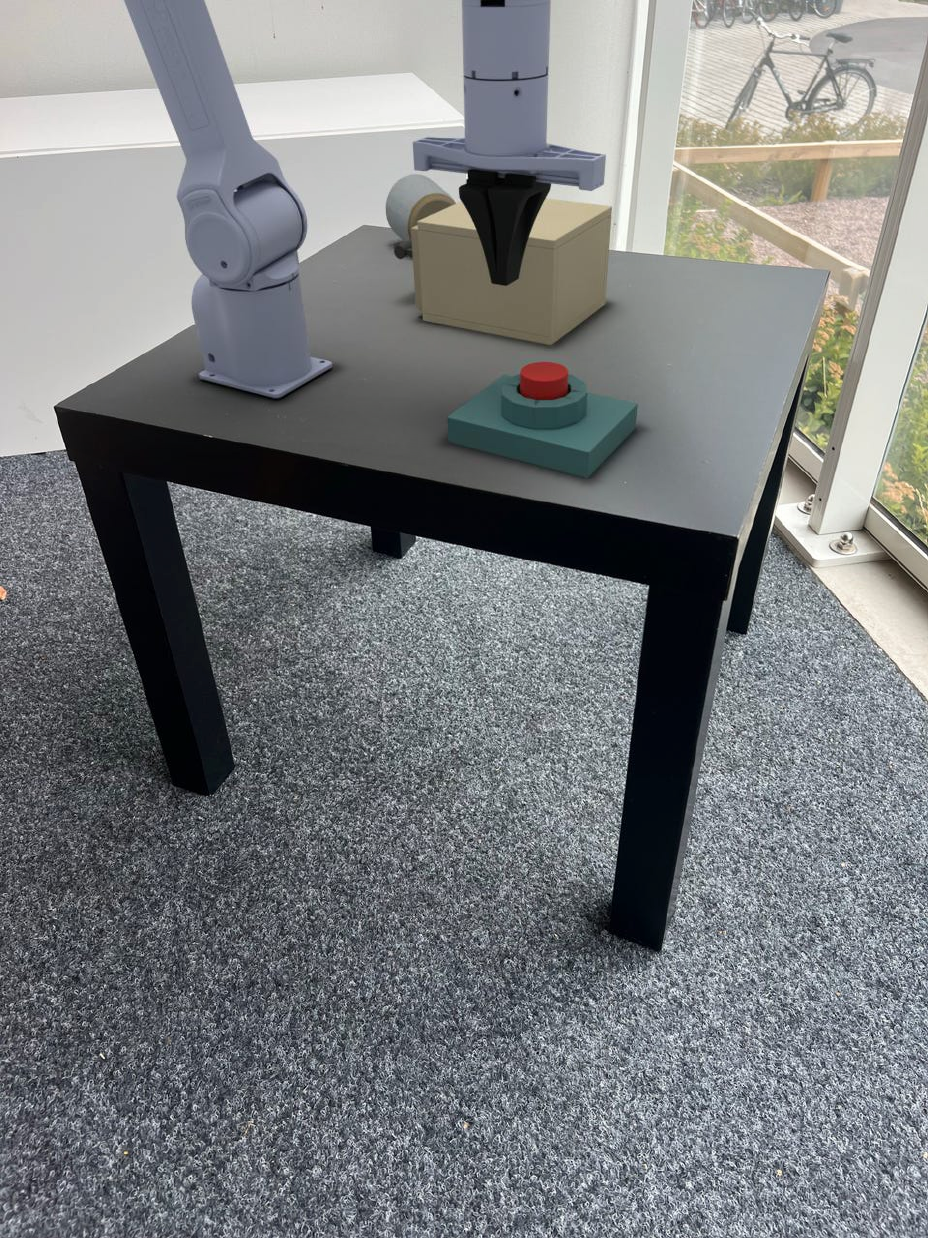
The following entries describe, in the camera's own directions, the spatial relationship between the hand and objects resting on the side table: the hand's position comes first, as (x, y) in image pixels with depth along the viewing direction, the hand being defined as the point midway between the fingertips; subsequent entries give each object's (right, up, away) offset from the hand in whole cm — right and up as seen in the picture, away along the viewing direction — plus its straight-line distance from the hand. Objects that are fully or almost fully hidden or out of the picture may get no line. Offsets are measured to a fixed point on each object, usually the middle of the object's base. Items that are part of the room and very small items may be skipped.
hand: (505, 280), depth 68 cm
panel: (+3, -11, +2) cm, 12 cm away
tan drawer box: (+2, +6, +23) cm, 24 cm away
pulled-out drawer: (-1, +8, +25) cm, 26 cm away
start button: (+3, -9, 0) cm, 9 cm away
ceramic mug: (-7, +20, +42) cm, 48 cm away
